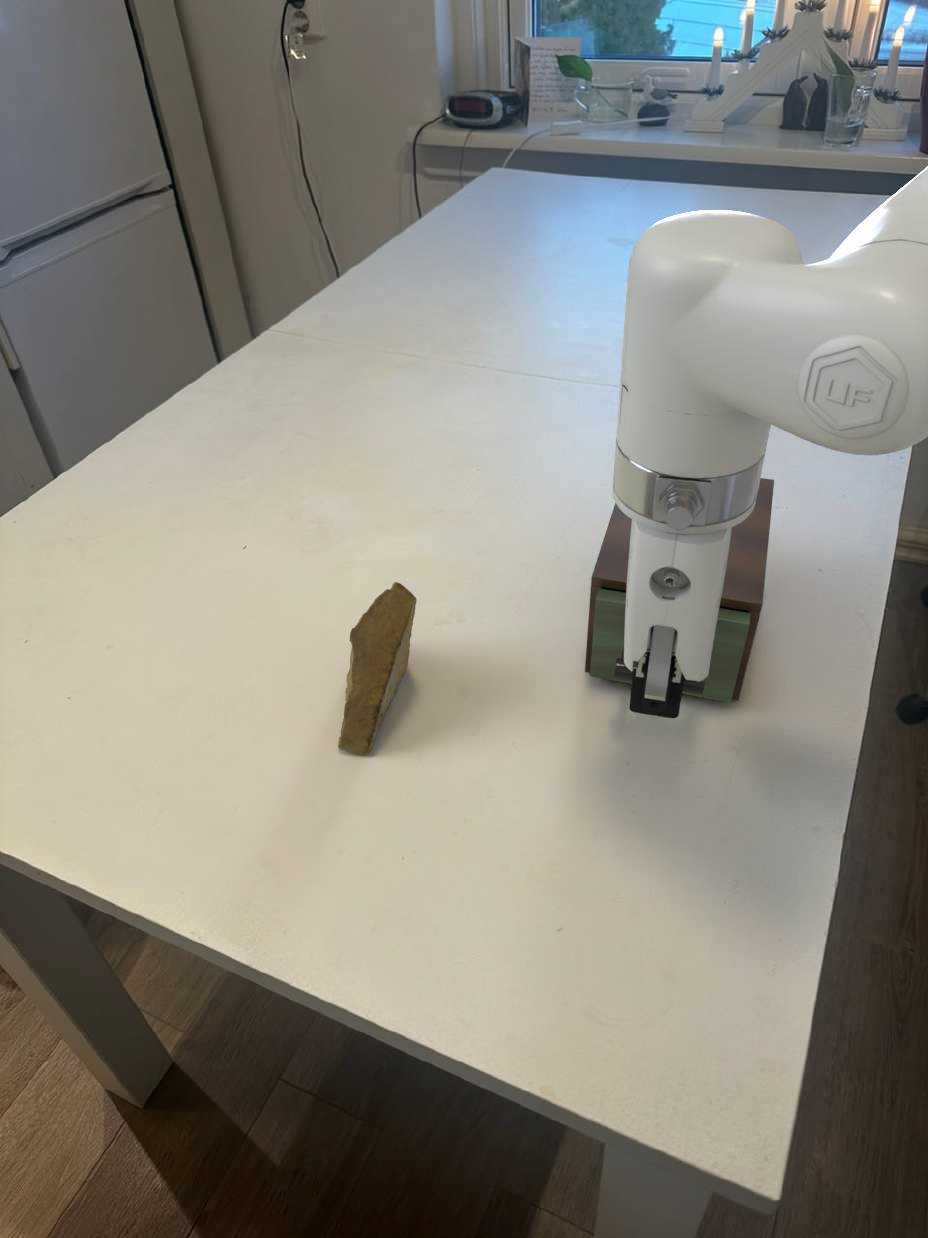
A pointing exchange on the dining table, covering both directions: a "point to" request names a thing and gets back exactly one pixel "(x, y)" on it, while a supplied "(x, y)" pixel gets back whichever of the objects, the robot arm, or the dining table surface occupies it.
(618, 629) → the drawer
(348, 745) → the rock
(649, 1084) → the dining table surface
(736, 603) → the cabinet
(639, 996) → the dining table surface
